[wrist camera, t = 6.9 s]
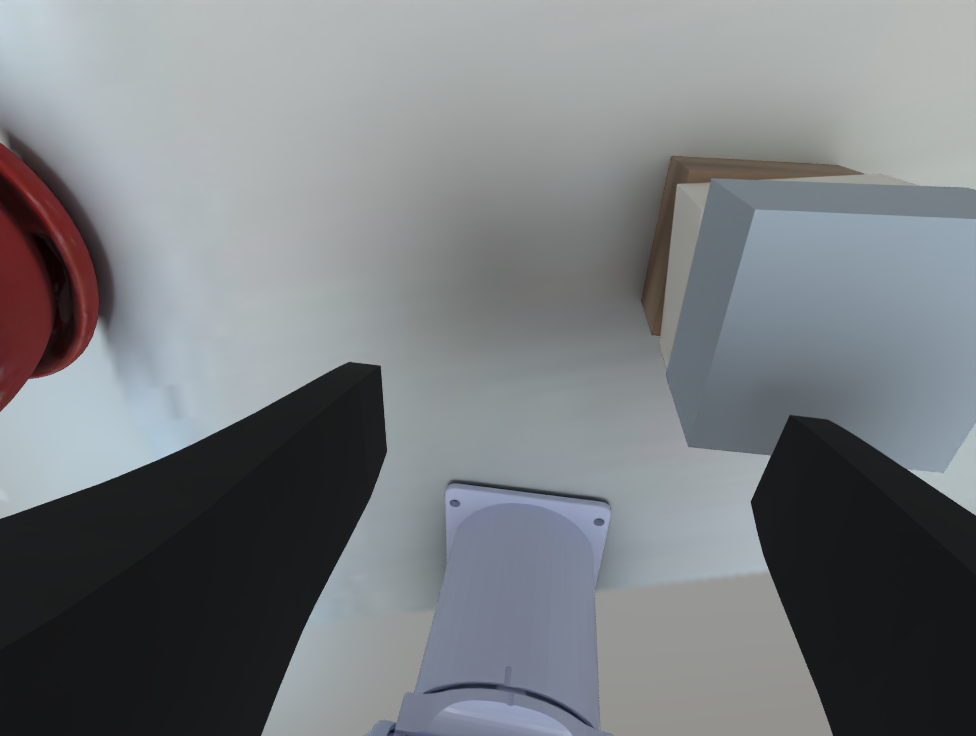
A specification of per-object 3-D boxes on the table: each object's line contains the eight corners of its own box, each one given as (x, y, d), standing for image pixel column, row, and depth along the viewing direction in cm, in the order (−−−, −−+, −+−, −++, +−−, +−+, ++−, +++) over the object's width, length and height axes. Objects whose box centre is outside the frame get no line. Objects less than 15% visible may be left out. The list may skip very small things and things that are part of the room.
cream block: (828, 345, 15) (880, 399, 13) (659, 345, 16) (675, 396, 13) (880, 173, 13) (957, 197, 10) (677, 184, 13) (701, 208, 11)
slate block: (867, 392, 13) (943, 472, 10) (665, 375, 13) (688, 446, 11) (967, 188, 10) (1102, 224, 7) (711, 178, 11) (755, 209, 8)
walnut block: (781, 311, 18) (815, 350, 15) (640, 299, 18) (651, 334, 16) (835, 164, 15) (888, 181, 13) (670, 155, 16) (689, 169, 13)
